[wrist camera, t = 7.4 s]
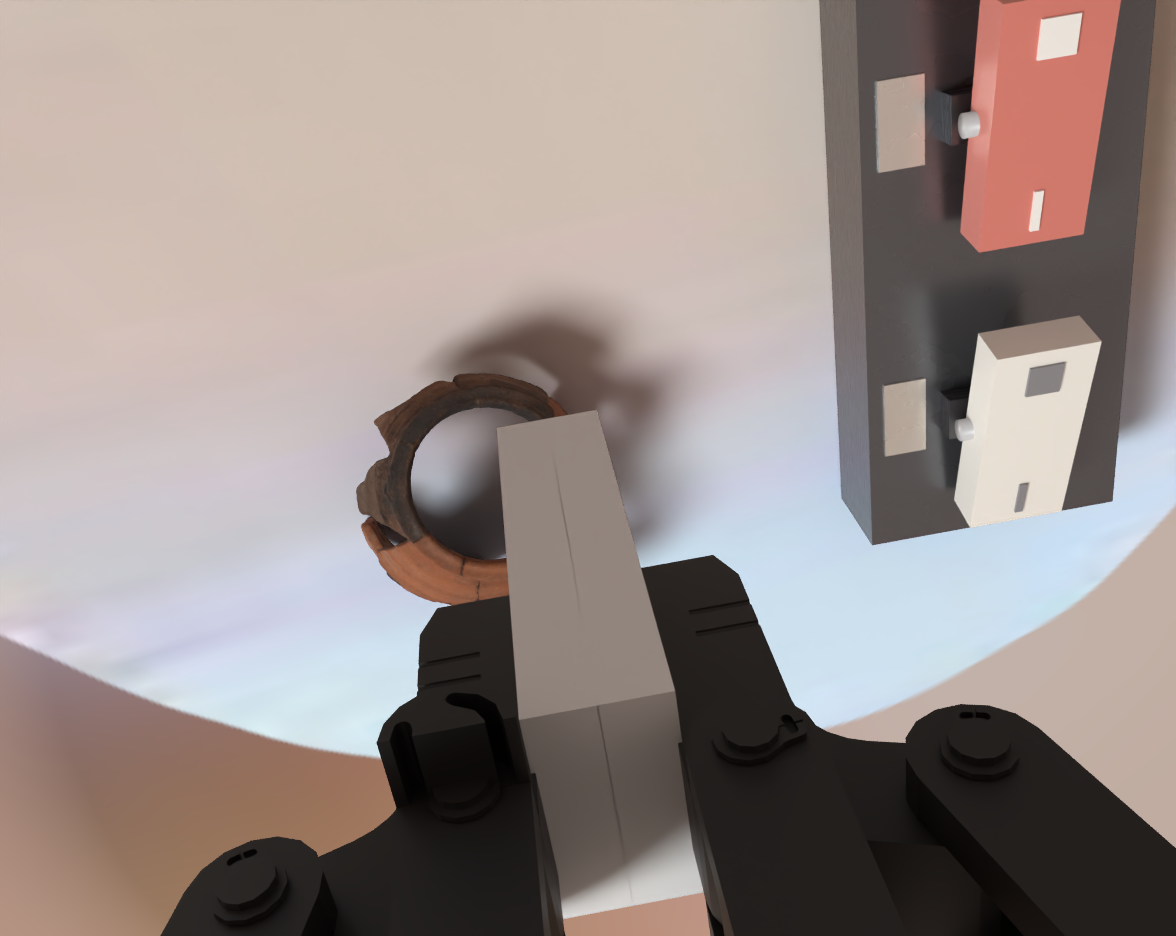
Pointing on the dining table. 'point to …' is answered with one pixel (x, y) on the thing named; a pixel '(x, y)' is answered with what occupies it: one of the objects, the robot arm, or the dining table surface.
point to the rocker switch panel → (954, 256)
